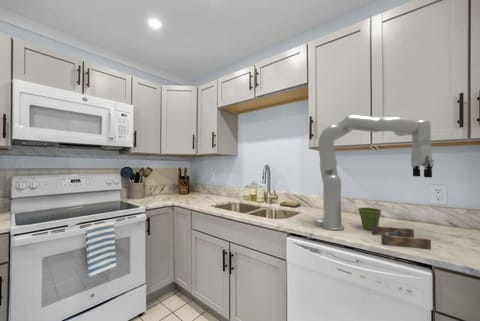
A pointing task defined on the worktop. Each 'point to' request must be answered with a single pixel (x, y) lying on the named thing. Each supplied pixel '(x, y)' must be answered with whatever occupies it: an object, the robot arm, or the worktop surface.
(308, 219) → the worktop surface
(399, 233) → the grey irregular lump
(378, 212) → the plant pot
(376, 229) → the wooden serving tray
